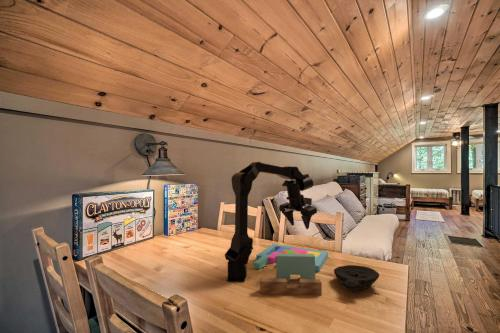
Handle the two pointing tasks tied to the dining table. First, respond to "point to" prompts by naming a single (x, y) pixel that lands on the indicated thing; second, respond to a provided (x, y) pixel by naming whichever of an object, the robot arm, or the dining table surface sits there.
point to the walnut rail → (290, 287)
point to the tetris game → (268, 257)
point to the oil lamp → (356, 276)
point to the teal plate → (295, 266)
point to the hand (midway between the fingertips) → (300, 227)
